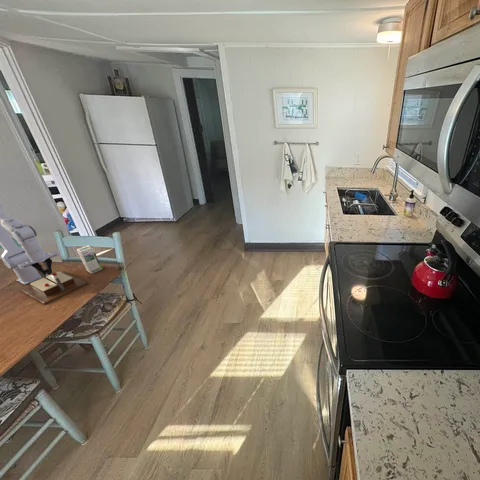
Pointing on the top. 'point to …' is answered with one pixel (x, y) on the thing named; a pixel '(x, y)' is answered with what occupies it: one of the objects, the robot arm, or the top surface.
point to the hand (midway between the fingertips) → (47, 273)
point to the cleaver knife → (49, 275)
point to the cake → (52, 284)
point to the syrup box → (89, 259)
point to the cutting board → (53, 296)
